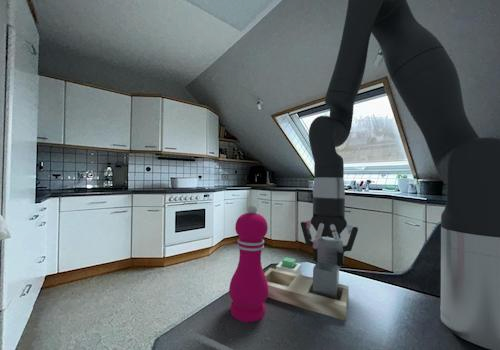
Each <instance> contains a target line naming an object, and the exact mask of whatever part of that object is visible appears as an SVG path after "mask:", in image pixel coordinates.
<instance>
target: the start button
mask: <svg viewBox="0 0 500 350" xmlns="http://www.w3.org/2000/svg"><path fill="white" fill-rule="evenodd" d="M296 263H297V259H296V258H290V257H284V258H283V259H282V266H283V267H287V268H292V269H294V268H295V267H296Z"/></svg>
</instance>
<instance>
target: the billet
mask: <svg viewBox="0 0 500 350" xmlns="http://www.w3.org/2000/svg"><path fill="white" fill-rule="evenodd" d="M312 268H313V269H312V272H313V273H312V278H313V294H316V295H320V296H323V297H327V298H331V299H335V300H338V289H339V284H340V282H339V281H340V280H339V279H340V276H339V275H340V268H339V266H337V265H332V264H327V263H322V262H317V263H316V262H315V264H314V267H312Z"/></svg>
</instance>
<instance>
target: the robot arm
mask: <svg viewBox="0 0 500 350" xmlns="http://www.w3.org/2000/svg"><path fill="white" fill-rule="evenodd" d="M346 7H347V8H346V14H345V19H344V25H343V30H342V35H341V40H340V45H339V49H338V53H337V57H336V58H337V59H336V61H335V63H334V64H335V65H334V68H333V71H332V75H331V77H330V81H329V84H328V87H327V90H326V93H325V97H324V98H325V99H324V104H325V105H326V106H327V107H328V108H329V115H319V116H317V117H315V118H314V119H313V120H312V122H311V123H310V125H309V129H308V139H309V140H308V141H309V146H310V150H311V154H312V159H313V161H314V168H313V169H314V172H313V176H314V177H313V178H314V179H313V185H312V186H313V187H312V217H311V219H310V220H303V221H302V222H300V227H301V230H302V231H301V232H302V235H303V239H304V242H305V244H306V245H307V246H310V247H312V250H313V252H312V253H313V254H312V256H313V257H312V259H313V262H315V264H316V263H317V250H318V240H320V239H321V238H322V237H327V238H334V241H335V242H337V249H338V252H337V266H339V269H341V267H343V266H344V264H345V252H351V251H352V248H353V246H354V242H355V240H356V237H357V235H358V231H359V226H357V225H352V224H349V223H348V222H347V220H346V216H345V214H346V212H345V211H346V207H345V206H346V205H345V203H346V202H345V197H346V196H345V195H346V194H345V192H346V190H345V189H346V188H345V187H346V186H345V181H344V180H345V179H344V177H345V176H344V173H345V172H344V171H345V170H344V167H345V166H344V159H343V157H342V156H341V155H340V154H339V153H338V152H337V150H336V148H337V147H341V146H342V145H343V144H345V142H346V141H347V140H348V138H349V136H350V134H351V130H352V126H353V125H352V124H353V118H354V107H355V106H354V105H355V102H356V99H357V96H358V94H359V90H360V88H361V85H362V82H363V78H364V74H365V70H366V64H367V59H368V53H369V51H368V49H369V45H370V38H371V35H372V36H373V37H374V38H375V40H376V42H377V43H378V45H379V47H380V50H381V54H382V58H383V61H384V64H385V68H386V71H387V73H388V74H389V75H388V76H389V77H390V79H391V81H392V83H393V85H394V87H395V89H396V91H397V93H398V95H399V96H400V98H401V100H402V102H403V104H404V105H405V107H406V108H407V111H408V112H409V114H410V115H411V117H412V119H413V121H414V122H415V124H416V125H417V127H418V128H419V130H420V132H421V133H422V135H423V138H424V140H425V142H426V145H427V148H428V150H429V153H430V156H431V159H432V161H433V164H434V168H435V170H436V172H437V175H438V177H439V178H440V180H441V181H442V182H443V183H444V185H446V186H447V187H446V203H445V207H444V209H443V211H442V212H441V215H440V309H439V310H440V320H441V322H442V324H444V325H445V326H446V327H447V328H448V329H449V330H450V331H451V332H452V333H453V334H454V335H456V336H457V337H458V338H459V337H460V338H461V339H462V340H465V341H467V342H470V343H472V344H474V345H477V346H480V347H482V348H484V349H488V350H500V138H499V137H493V136H492V137H491V136H487V137H486V136H484V137H483V136H482V137H480V136H479V134H478V133H477V132H476V130H475V128H474V127H473V126H472V124H471V122H470V120H469V119H468V116H467V114H466V110H465V106H464V101H463V92H462V87H461V82H460V78H459V73H458V70H457V68H456V66H455V63H454V62H453V60H452V59H451V57H450V55H449V54H448V52H447V50H446V49H445V47H444V45H443V44H442V43H441V41H440V40H439V39H438V38H437V36H436V35H434V34H433V33H432V32H431V31H430V30H429V29H427V28H425V27H424V26H423V25H422V24H420V23H419V21H418V20H417V19H416V18H415V16H414V14H413V12H412V10H411V8H410V6H409V4H408V1H407V0H348V1H347V6H346ZM312 227H313V228H314V230H315V231H316V234H315V237H314V240H313V238H312V234H311V231H310V229H311V228H312ZM345 229H347V233H348V234H349V238H348V240H347V244H344V243H343V239H342V235H341V234H342V233H343V231H344V230H345Z"/></svg>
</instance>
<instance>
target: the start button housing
mask: <svg viewBox="0 0 500 350" xmlns="http://www.w3.org/2000/svg"><path fill="white" fill-rule="evenodd" d="M275 269H277V270H282V271H286V272H290V273H294V274H299V275H302V264H301V263H299V262H296V267H295V268H294V269H292V268H287V267H283V266H282V261H280V262H279V263H278V264H276V266H275Z"/></svg>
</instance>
